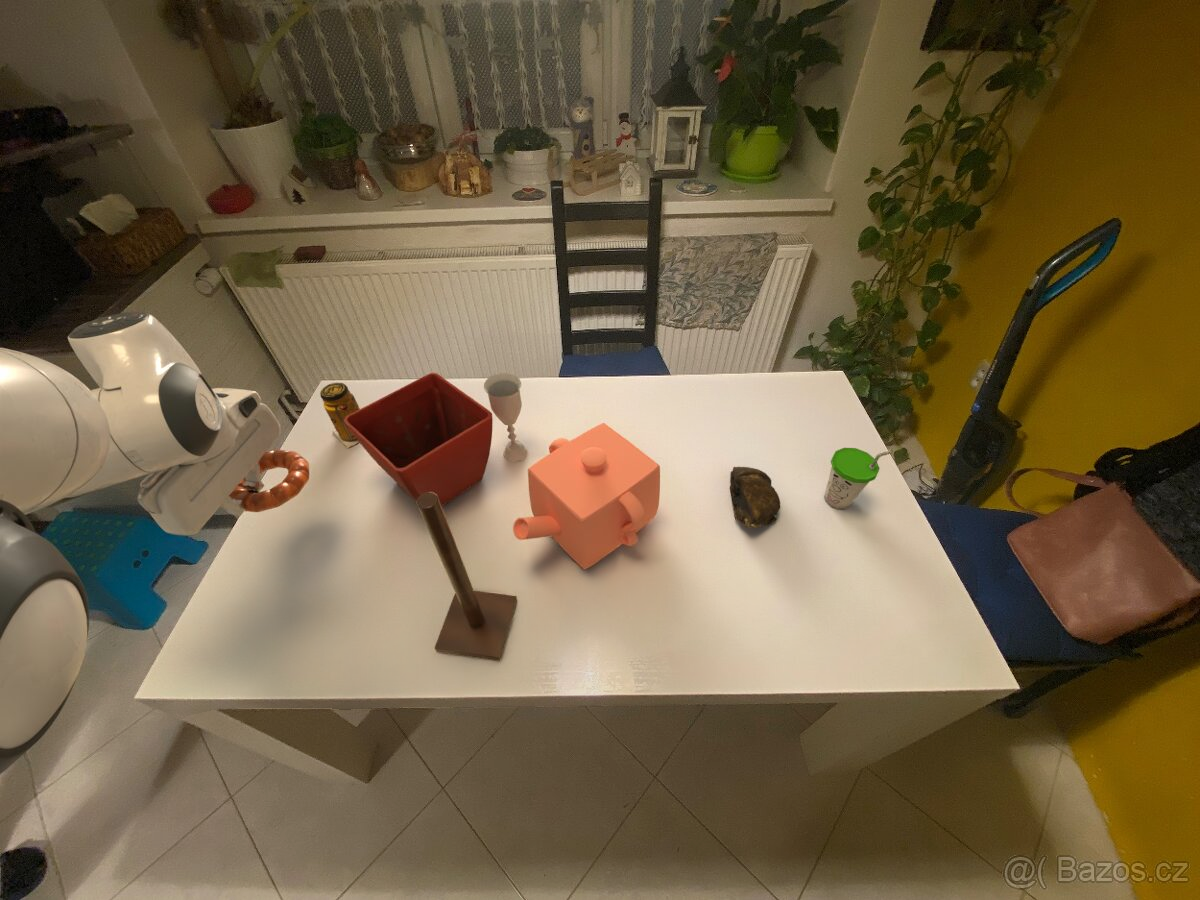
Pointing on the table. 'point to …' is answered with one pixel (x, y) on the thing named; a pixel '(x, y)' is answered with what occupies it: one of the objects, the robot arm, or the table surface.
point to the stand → (466, 597)
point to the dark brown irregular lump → (753, 497)
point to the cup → (850, 475)
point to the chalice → (507, 409)
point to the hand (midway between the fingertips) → (248, 500)
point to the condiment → (340, 410)
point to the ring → (280, 492)
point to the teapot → (591, 494)
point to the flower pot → (427, 437)
